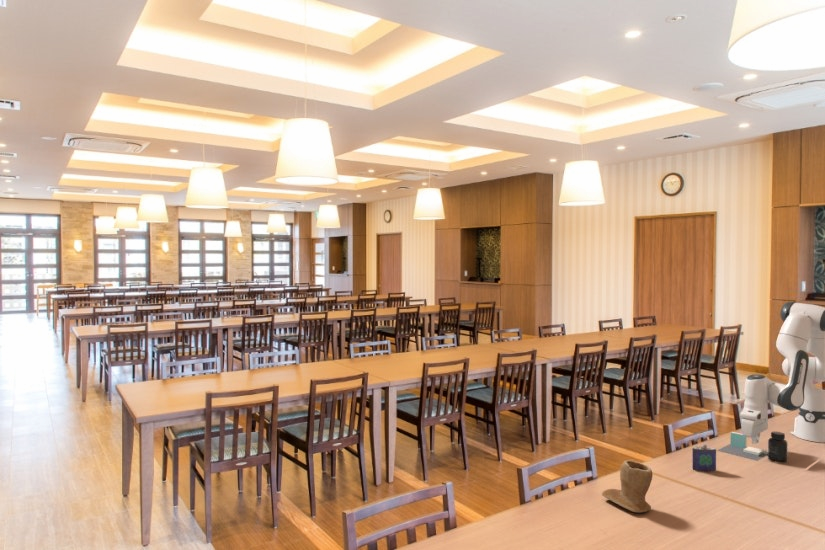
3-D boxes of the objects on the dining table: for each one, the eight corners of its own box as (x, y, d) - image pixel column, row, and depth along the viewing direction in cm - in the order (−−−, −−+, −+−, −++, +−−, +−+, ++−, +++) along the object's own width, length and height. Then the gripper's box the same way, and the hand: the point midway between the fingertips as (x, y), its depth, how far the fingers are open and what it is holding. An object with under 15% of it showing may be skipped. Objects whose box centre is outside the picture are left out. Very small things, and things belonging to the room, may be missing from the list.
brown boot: (660, 511, 184) (660, 467, 184) (633, 517, 179) (634, 472, 179) (626, 494, 198) (626, 452, 198) (600, 499, 193) (600, 457, 193)
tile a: (748, 446, 244) (743, 449, 240) (763, 450, 239) (758, 452, 235) (748, 449, 244) (743, 452, 240) (763, 453, 239) (758, 456, 235)
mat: (731, 444, 253) (731, 443, 253) (770, 453, 240) (770, 452, 240) (716, 451, 243) (716, 450, 243) (757, 462, 230) (757, 460, 230)
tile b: (731, 444, 251) (732, 431, 251) (746, 448, 246) (746, 434, 246) (730, 445, 250) (730, 432, 250) (745, 448, 245) (745, 435, 245)
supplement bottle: (791, 464, 228) (791, 435, 228) (774, 463, 228) (774, 435, 228) (780, 458, 235) (780, 430, 235) (764, 458, 235) (764, 430, 235)
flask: (714, 469, 222) (714, 443, 222) (718, 471, 219) (718, 445, 219) (691, 468, 223) (691, 442, 222) (694, 471, 220) (694, 445, 220)
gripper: (756, 406, 249) (756, 436, 250) (738, 414, 237) (738, 445, 237) (772, 409, 245) (771, 440, 245) (755, 417, 232) (754, 449, 232)
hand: (755, 443), depth 241 cm, fingers closed
